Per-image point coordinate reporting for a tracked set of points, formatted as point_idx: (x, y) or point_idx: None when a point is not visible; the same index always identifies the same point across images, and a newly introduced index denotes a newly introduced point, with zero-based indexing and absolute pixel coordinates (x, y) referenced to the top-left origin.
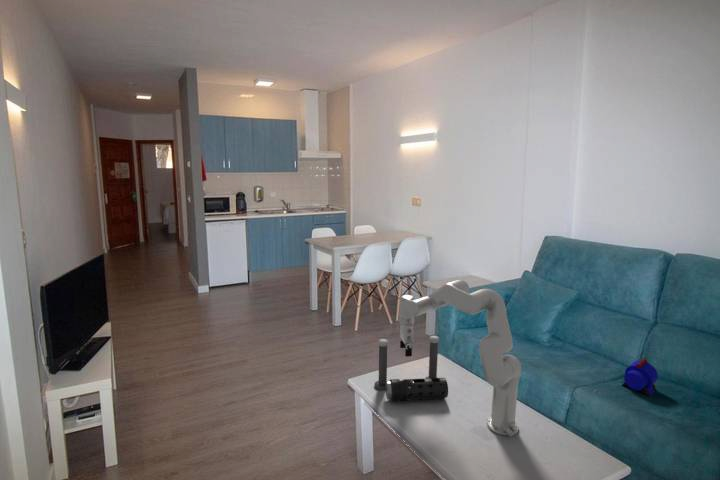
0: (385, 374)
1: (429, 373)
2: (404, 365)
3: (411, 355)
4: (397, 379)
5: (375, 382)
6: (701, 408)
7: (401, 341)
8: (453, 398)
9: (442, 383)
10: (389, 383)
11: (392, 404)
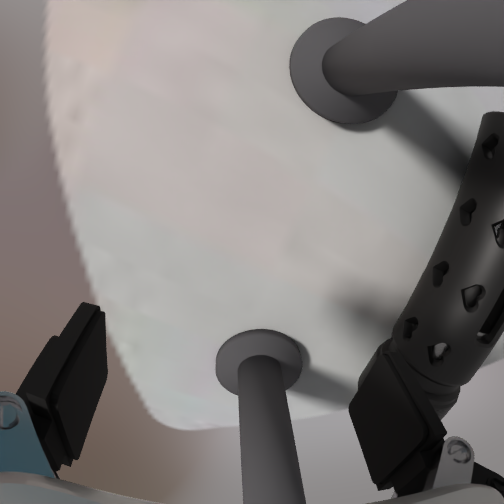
0: (289, 415)
1: (374, 92)
2: (58, 140)
3: (398, 356)
4: None
5: (228, 389)
6: None
7: (77, 456)
8: (500, 98)
9: None
10: None
11: None
